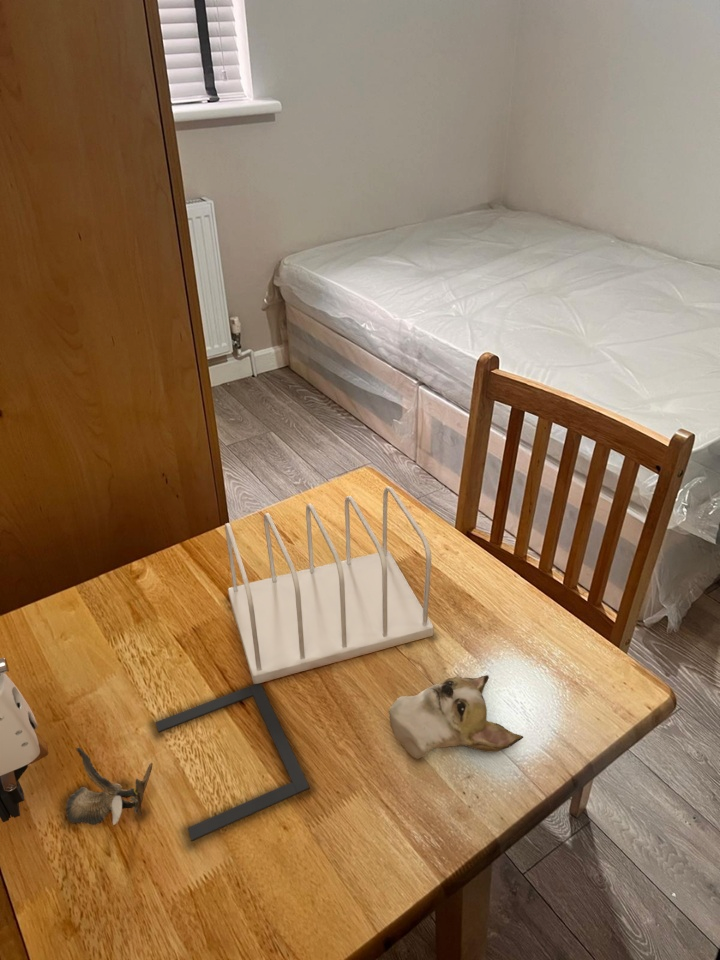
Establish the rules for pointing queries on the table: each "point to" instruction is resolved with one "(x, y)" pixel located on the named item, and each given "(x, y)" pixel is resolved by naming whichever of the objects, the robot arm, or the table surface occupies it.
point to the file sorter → (326, 603)
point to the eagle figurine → (103, 797)
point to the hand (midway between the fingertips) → (10, 806)
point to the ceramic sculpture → (448, 719)
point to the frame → (279, 740)
